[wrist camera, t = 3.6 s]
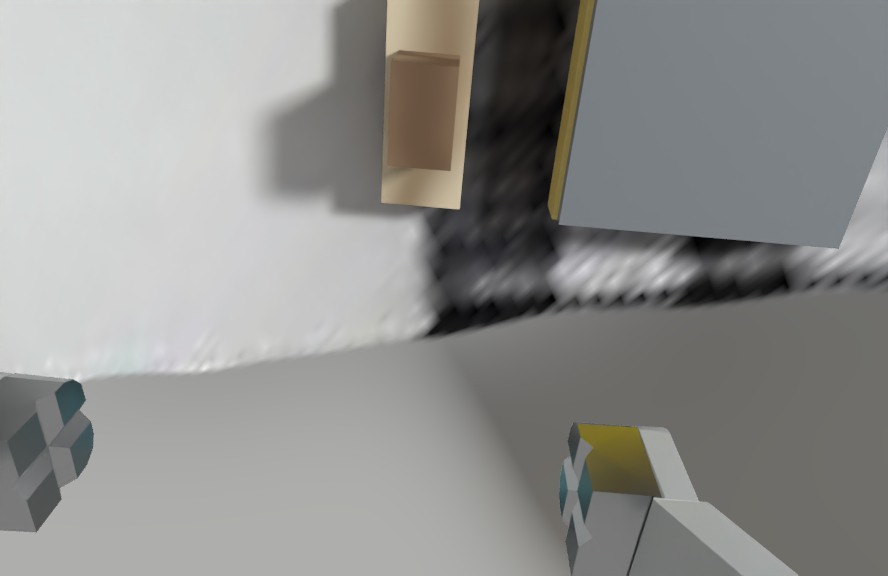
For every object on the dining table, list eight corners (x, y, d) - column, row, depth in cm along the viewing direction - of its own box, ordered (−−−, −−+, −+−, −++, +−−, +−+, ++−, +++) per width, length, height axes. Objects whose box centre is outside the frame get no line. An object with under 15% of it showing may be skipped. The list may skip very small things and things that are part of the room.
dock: (546, 200, 40) (553, 224, 36) (586, -54, 33) (600, -55, 30) (805, 222, 40) (838, 248, 36) (897, -27, 33) (948, -25, 30)
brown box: (395, 144, 35) (386, 165, 32) (399, 50, 33) (390, 61, 29) (452, 149, 35) (450, 171, 32) (460, 55, 33) (459, 67, 29)
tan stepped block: (386, 186, 40) (381, 202, 37) (394, -28, 34) (388, -26, 31) (460, 192, 40) (459, 209, 37) (479, -21, 34) (480, -18, 31)
